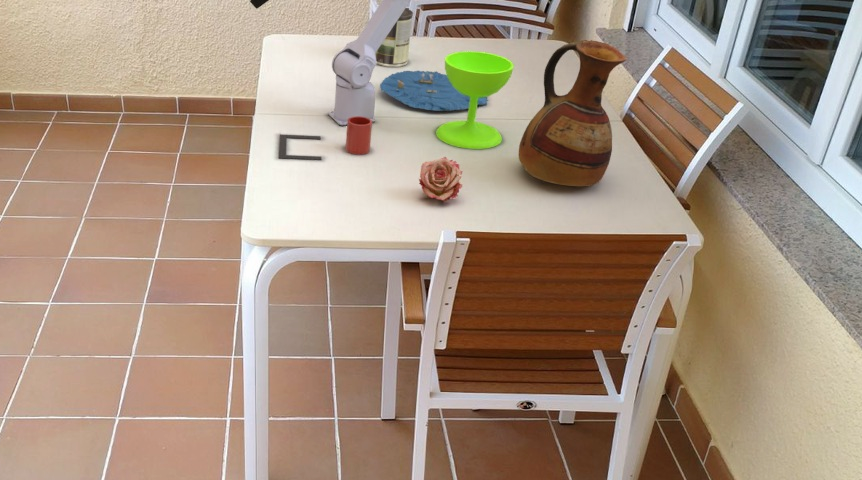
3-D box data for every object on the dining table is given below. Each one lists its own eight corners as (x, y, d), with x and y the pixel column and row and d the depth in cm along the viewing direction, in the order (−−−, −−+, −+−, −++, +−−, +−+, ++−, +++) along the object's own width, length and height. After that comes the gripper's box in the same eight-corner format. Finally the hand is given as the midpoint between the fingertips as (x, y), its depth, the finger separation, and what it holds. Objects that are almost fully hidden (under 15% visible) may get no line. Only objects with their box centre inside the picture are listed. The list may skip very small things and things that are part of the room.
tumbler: (363, 144, 227) (365, 115, 223) (373, 153, 222) (376, 124, 218) (341, 146, 225) (343, 117, 221) (351, 155, 221) (353, 126, 217)
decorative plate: (457, 76, 274) (460, 58, 271) (505, 113, 251) (509, 93, 248) (360, 77, 265) (362, 58, 262) (400, 116, 242) (402, 95, 239)
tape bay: (320, 136, 229) (320, 136, 229) (321, 160, 218) (321, 159, 217) (279, 135, 228) (279, 134, 228) (278, 158, 217) (278, 157, 217)
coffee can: (374, 66, 273) (379, 15, 265) (370, 55, 282) (373, 5, 274) (410, 67, 274) (416, 16, 266) (404, 56, 283) (409, 6, 275)
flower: (415, 176, 209) (415, 157, 201) (457, 169, 209) (458, 150, 201) (423, 216, 205) (423, 198, 198) (465, 209, 205) (467, 190, 198)
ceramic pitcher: (586, 204, 206) (618, 65, 189) (500, 179, 214) (522, 43, 197) (616, 174, 220) (648, 42, 203) (534, 152, 228) (558, 23, 211)
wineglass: (459, 152, 225) (469, 76, 215) (423, 128, 237) (431, 54, 227) (515, 143, 232) (527, 69, 222) (477, 120, 243) (487, 48, 233)
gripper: (262, -69, 211) (221, -21, 213) (291, -54, 201) (247, -4, 202) (281, -46, 216) (241, 1, 218) (311, -30, 206) (268, 19, 207)
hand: (246, 0), depth 210 cm, fingers open, 7 cm apart
